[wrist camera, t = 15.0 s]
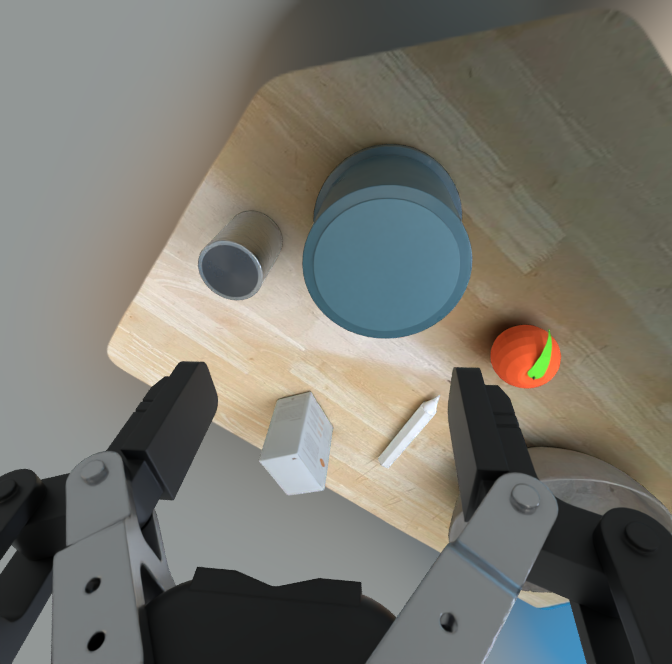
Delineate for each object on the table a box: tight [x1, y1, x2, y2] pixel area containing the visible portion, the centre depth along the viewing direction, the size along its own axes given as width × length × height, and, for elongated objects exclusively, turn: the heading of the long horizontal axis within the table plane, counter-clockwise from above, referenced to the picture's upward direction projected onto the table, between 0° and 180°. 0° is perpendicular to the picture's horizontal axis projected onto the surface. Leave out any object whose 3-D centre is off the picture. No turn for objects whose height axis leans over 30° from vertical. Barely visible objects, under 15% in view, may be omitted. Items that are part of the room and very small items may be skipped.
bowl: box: [448, 447, 672, 593], centre depth 56 cm, size 28×28×10 cm
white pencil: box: [378, 395, 440, 468], centre depth 55 cm, size 3×2×16 cm
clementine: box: [491, 325, 561, 388], centre depth 42 cm, size 8×7×7 cm
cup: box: [198, 211, 282, 300], centre depth 38 cm, size 6×6×8 cm
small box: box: [259, 392, 333, 495], centre depth 52 cm, size 8×6×10 cm
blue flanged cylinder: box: [302, 144, 472, 338], centre depth 34 cm, size 14×14×11 cm
